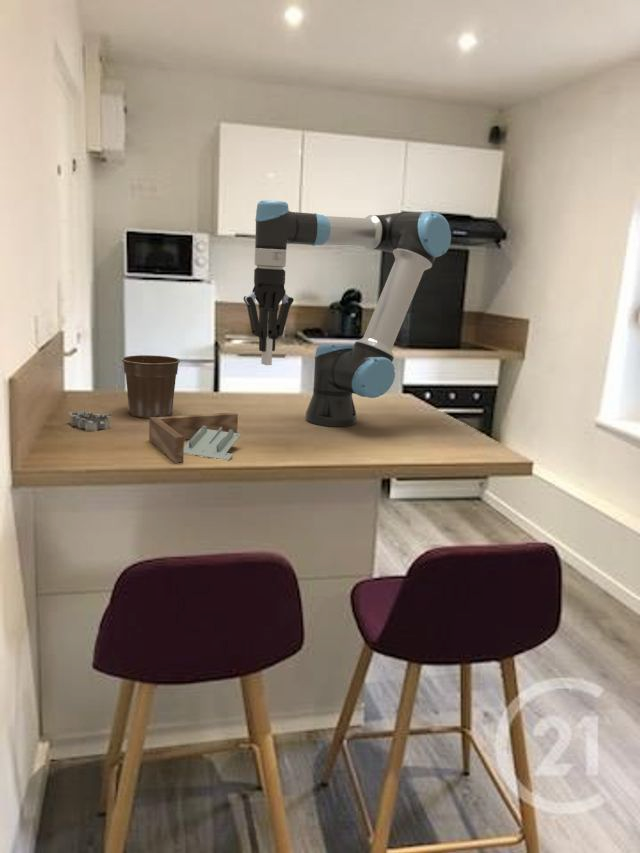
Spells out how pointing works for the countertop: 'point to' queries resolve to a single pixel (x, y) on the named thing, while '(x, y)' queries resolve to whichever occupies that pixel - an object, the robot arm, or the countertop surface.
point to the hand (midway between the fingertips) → (266, 364)
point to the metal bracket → (211, 443)
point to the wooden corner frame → (185, 430)
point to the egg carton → (90, 420)
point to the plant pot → (150, 384)
